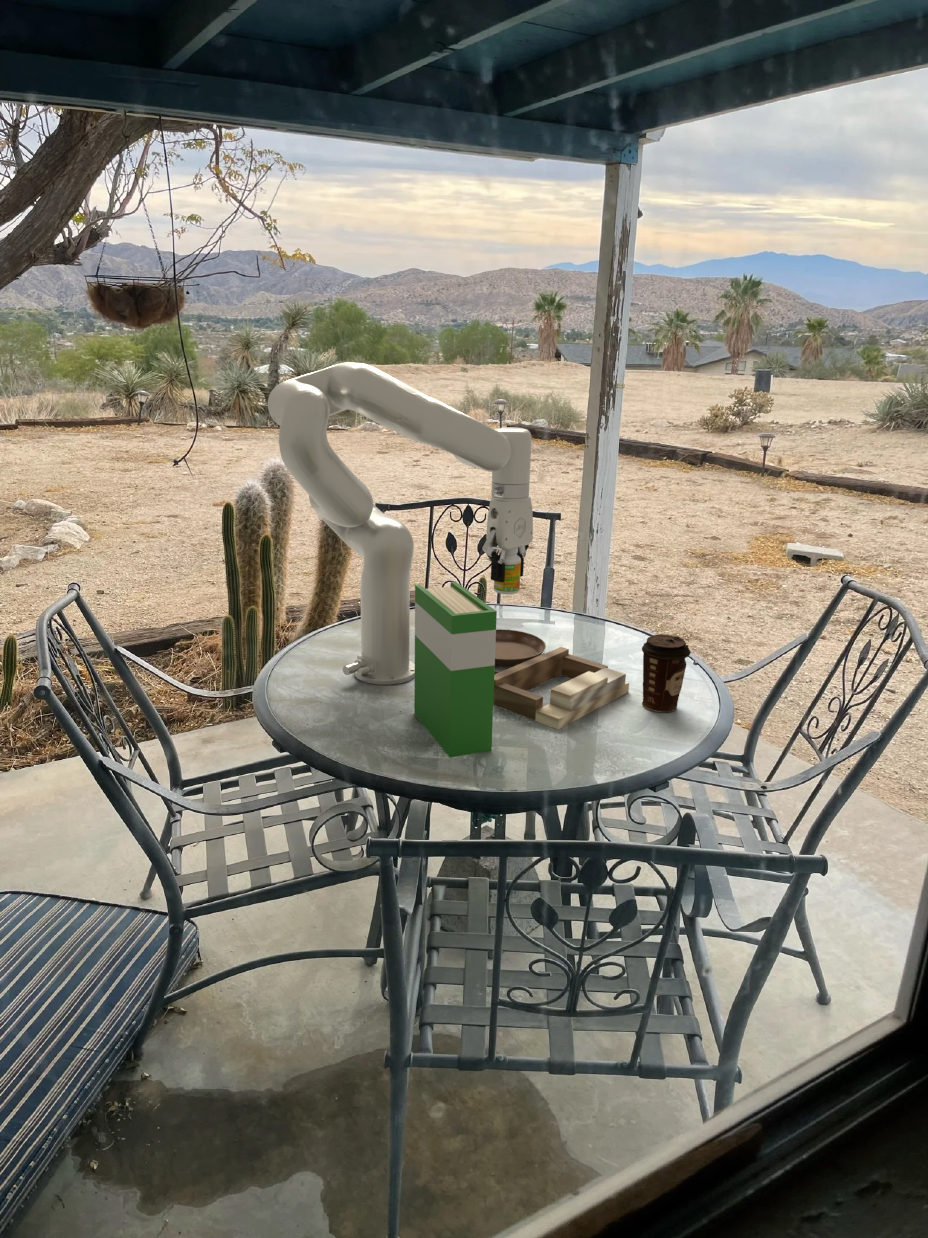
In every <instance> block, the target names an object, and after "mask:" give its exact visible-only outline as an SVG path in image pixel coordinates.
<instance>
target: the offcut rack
mask: <svg viewBox="0 0 928 1238" xmlns="http://www.w3.org/2000/svg"><path fill="white" fill-rule="evenodd" d="M569 649H570V648H566V647H563V646H560V647H557V648H554V649H552V650H551V651H550V650H549V651H548V652H545V653H542V654H541V655H540V656H538V657H535V658H533V659H530V660H528V661H526V662H523V663H521V664H518V665H516V666H514V667H508V668H507V669H504V670H502V671H499V672H497V673H494V699H493V706H495V707H498V708H500V707H501V708H500V709H503V710H505V709H506V711H509V712H511V713H513V714H517V715H519V716H521V717H524V718H527V719H529V720H532V721H534V722H538V723H539V724H542V725H546V726H549V727H551V728H553V729H556V730H560V729H561V728H562V729H563V728H564V727H566V726H568V725H570V724H571V723H574V722H576V721H577V720H579V719H581V718H582V717H584V716H587V715H588V714H591V713H592V712H594V711H596V710H597V709H599V708H601V707H603V706H605V705H607V704H609V703H611V702H612V701H615V700H616V699H619V698H620V697H622V696H624V695H625V694H627V693H629V690H630V689H629V687H630V682H628V681H626V680H627V679H626V678H627V674H626V673H624V672H621V671H618V670H615V669H612V668H609V667H608V665H605V664H603V663H600V662H596V661H593V660H590V659H586V658H583V657H579V656H577V655H574V654H570V652H569V651H570V650H569ZM560 675H561V676H563V677H567V678H568V679H569V678H570V679H569V680H567V681H565V682H562V683H560V684H559V685H556V686H555V687H552V688H550V695H549V704H546V705H544V696H542V695H539V694H537V693H534V692H531V690H532V689H534V688H536V687H538V686H541V685H543V684H545V683H547V682H549V681H551V680H555V679H557V678H558V677H560Z"/></svg>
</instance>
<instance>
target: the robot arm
mask: <svg viewBox="0 0 928 1238" xmlns="http://www.w3.org/2000/svg"><path fill="white" fill-rule="evenodd" d="M267 410H268V413H269V415H270V417H271V419H272V420H273V422H275V423H276V424H277V425H278V426H279V430H278V444H279V445H278V447H279V451H280V456H281V460H282V462H283V464H284V466H285V467H286V469H287V470H288V472H289V473H290V475H291V477H293V479H294V480H295V481H296V482H298V484H299V485H300V486H301V488H302V489H303V490H304V491H305V492H306V493H307V494H308V500H309V503H310V505H311V507H312V509H313V510H314V511H315V513H316V514H317V516H318V517H320V518H321V520H322V521H323V522H324V523H325V524H326V525H327V526H328V527H329V528H330V529H331V530H332V532H334V533H335V534H336V535H337V536H338V537H339V538H340V539H341V540H342V541H343V543H345V544H346V545H347V546H348V547H349V548H350V549H351V550H352V551H353V552H355V553H356V554H357V555H359V556H361V558H363V566H362V571H361V575H360V587H359V589H360V592H359V593H360V594H359V595H360V636H361V637H360V641H361V642H360V644H361V647H360V648H361V652H360V653H358V654H357V655H356V656H357V658H356V659H357V660H355V661H354V662H353V663H349V664H346V665H343V666H342V673H343V674H344V675H345V676H349V675H352V674H353V675H354V677H356V679H358V680H359V681H361V682H363V683H367V684H372V685H379V686H380V685H381V686H382V685H383V686H384V685H386V686H387V685H389V686H390V685H398V684H402V683H406V682H409V681H411V680H412V679H415V662H413V661H411V660H410V629H411V628H410V625H411V624H410V618H411V617H410V614H411V613H410V610H411V609H410V607H411V605H410V602H411V600H410V597H411V596H410V591H411V588H410V584H411V571H412V564H413V558H414V554H415V553H414V552H415V550H414V549H415V542H414V540H413V535H412V533H411V532H410V530H409V528H408V527H407V526H406V525H405V524H404V523H403V522H401V521H400V520H398V519H397V518H395V517H392V516H391V515H389V514H386V513H384V512H383V511H381V510H380V508H378V507H377V506H376V505H375V504H374V499H373V495H372V494H371V492H370V489H369V488H368V487H367V485H366V484H365V483H364V482H363V481H361V480H360V479H359V478H358V477H357V475H355V474H354V472H352V470H351V469H350V468H349V467H348V466H347V464H345V463H344V461H343V460H342V459H341V458H340V457H339V455H337V453H336V452H335V450H334V448H332V446H331V445H330V443H329V441H328V436H327V435H328V434H327V431H328V430H327V429H328V425H329V420H330V417H331V416H334V415H336V414H338V413H341V412H343V411H347V410H349V411H352V412H354V413H357V414H358V415H361V416H363V417H365V418H366V419H370V420H371V421H373V422H375V423H377V424H380V425H381V426H383V427H386V428H387V429H389V430H392V431H394V432H396V433H398V434H399V435H401V436H403V437H406V438H407V439H410V440H411V441H414V442H416V443H419V444H423V445H427V446H431V447H432V448H437V449H440V450H441V451H445V452H447V453H450V454H451V455H453V456H454V458H455V459H456V460H457V461H458V462H459V463H461V464H463V465H465V466H468V467H472V468H475V469H478V470H481V471H485V472H489V473H491V472H492V474H491V491H490V492H491V498H490V501H489V506H488V514H487V520H486V536H485V537H486V540H485V542H484V544H483V546H482V551H483V552H484V554H486V556H487V557H488V560H489V562H490V564H491V565H490V580H492V581H493V582H494V581H498V582H504V580H505V563H503V560H504V556H505V551H506V550H510V549H514V548H518V553H517V555H518V556H519V557H520V558H521V569H520V578H521V577H523V576H524V568H525V567H524V566H525V565H524V563H525V558H526V556H527V550H528V549H529V546H530V544H532V541H533V539H534V535H533V534H534V533H533V532H534V517H533V516H534V515H533V503H532V499H531V496H530V481H531V461H532V460H531V458H532V434H531V432H530V430H529V429H527V428H523V427H513V426H511V427H509V426H508V427H507V426H506V427H500V428H493V427H491V426H489V425H488V424H486V423H483V422H481V421H480V420H478V419H476V418H474V417H472V416H470V415H468V414H465V413H463V411H459V410H457V409H456V408H453V407H452V406H450V405H448V404H446V403H444V402H442V401H441V400H438V399H436V398H433V397H432V396H430V395H428V394H425V393H423V392H421V391H420V390H419V389H417V388H415V387H412V386H410V385H409V384H407V383H405V382H403V381H401V380H399V379H398V378H395V377H393V376H392V375H390V374H388V373H386V372H384V371H383V370H381V369H379V368H377V367H375V366H372V365H371V364H367V363H364V362H352V361H346V362H341V363H337V364H334V365H331V366H327V367H325V368H321V369H319V370H317V371H312V372H310V373H306V374H303V375H300V376H297V377H294V378H293V377H292V378H290V379H287V380H285V381H282V382H280V383H278V384H277V385H276V386H275V387H274V388H273V389H272V390H271V392H270V393H269V395H268V398H267ZM498 550H500V552H497V551H498ZM498 553H499V554H498Z"/></svg>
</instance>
